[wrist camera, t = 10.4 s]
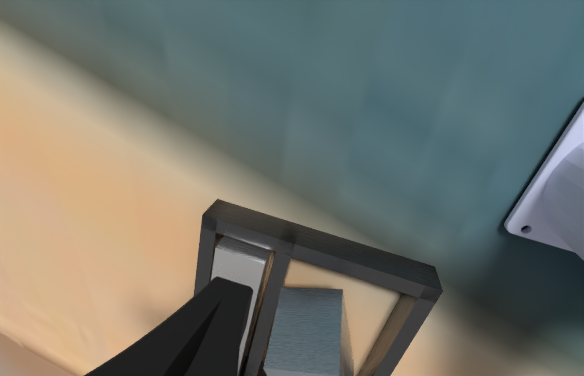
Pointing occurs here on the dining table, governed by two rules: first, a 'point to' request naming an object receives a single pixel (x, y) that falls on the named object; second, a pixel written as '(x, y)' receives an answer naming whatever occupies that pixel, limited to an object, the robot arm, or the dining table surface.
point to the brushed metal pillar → (310, 335)
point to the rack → (317, 250)
